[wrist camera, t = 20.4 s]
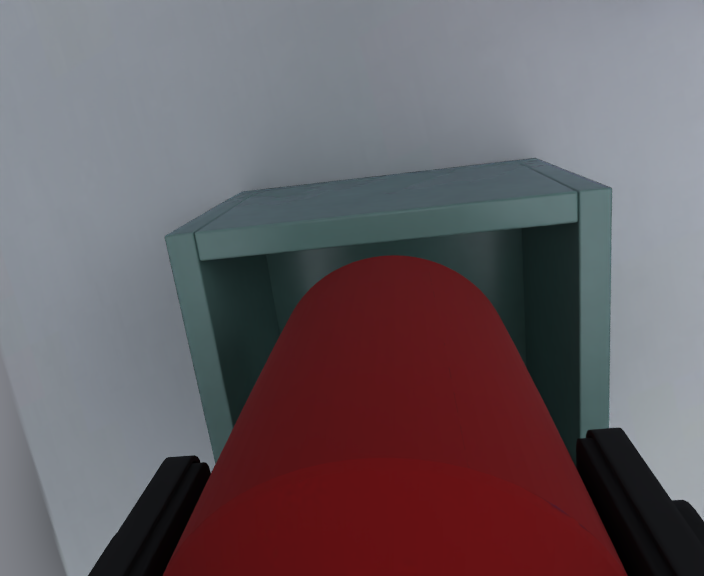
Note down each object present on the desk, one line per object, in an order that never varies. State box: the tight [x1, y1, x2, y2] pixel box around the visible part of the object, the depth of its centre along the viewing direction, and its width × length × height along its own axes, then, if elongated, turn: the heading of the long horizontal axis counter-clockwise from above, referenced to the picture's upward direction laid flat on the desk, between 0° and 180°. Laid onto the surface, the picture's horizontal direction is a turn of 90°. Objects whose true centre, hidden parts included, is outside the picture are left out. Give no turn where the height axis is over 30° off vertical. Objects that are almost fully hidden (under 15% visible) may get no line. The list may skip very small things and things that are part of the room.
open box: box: [165, 158, 612, 466], centre depth 23 cm, size 15×13×9 cm
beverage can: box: [163, 255, 628, 576], centre depth 12 cm, size 7×7×12 cm
